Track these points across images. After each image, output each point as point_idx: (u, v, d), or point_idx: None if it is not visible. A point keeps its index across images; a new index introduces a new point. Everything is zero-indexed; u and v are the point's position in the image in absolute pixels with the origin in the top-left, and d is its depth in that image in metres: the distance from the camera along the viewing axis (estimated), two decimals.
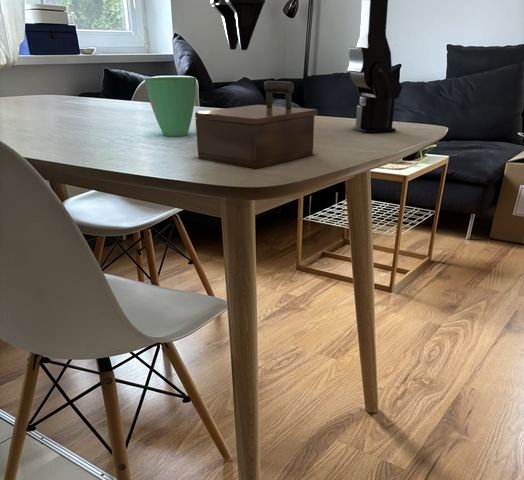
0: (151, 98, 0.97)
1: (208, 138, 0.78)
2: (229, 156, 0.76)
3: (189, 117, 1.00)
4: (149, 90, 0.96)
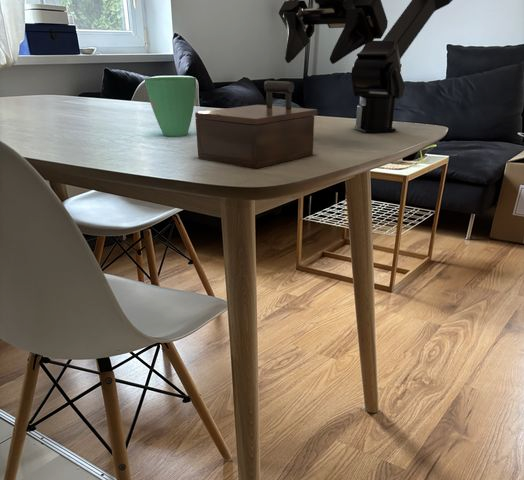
0: (151, 98, 0.97)
1: (208, 138, 0.78)
2: (229, 156, 0.76)
3: (189, 117, 1.00)
4: (149, 90, 0.96)
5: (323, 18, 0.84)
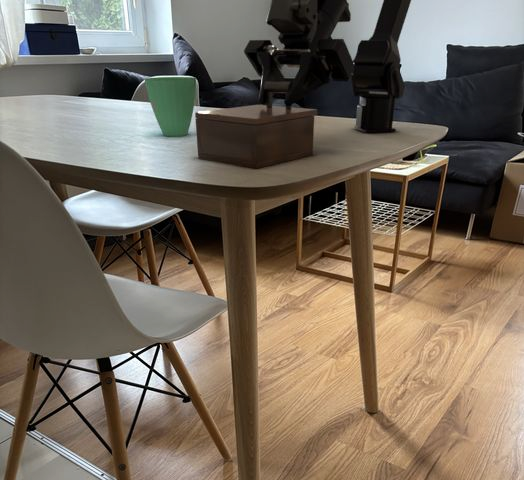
0: (151, 98, 0.97)
1: (208, 138, 0.78)
2: (229, 156, 0.76)
3: (189, 117, 1.00)
4: (149, 90, 0.96)
5: (289, 59, 0.82)
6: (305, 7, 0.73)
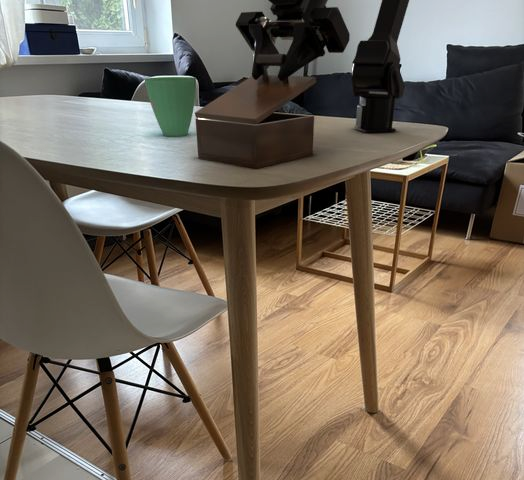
0: (151, 98, 0.97)
1: (208, 138, 0.78)
2: (229, 156, 0.76)
3: (189, 117, 1.00)
4: (149, 90, 0.96)
5: (282, 30, 0.79)
6: None
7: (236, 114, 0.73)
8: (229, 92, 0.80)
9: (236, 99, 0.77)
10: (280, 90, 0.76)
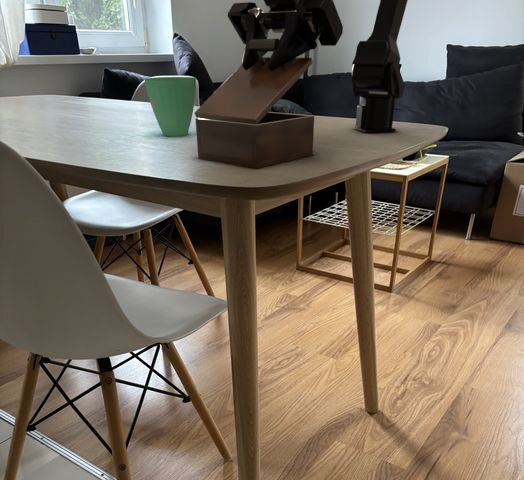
0: (151, 98, 0.97)
1: (208, 138, 0.78)
2: (229, 156, 0.76)
3: (189, 117, 1.00)
4: (149, 90, 0.96)
5: (274, 22, 0.77)
6: None
7: (235, 113, 0.73)
8: (226, 83, 0.79)
9: (234, 93, 0.77)
10: (277, 78, 0.75)
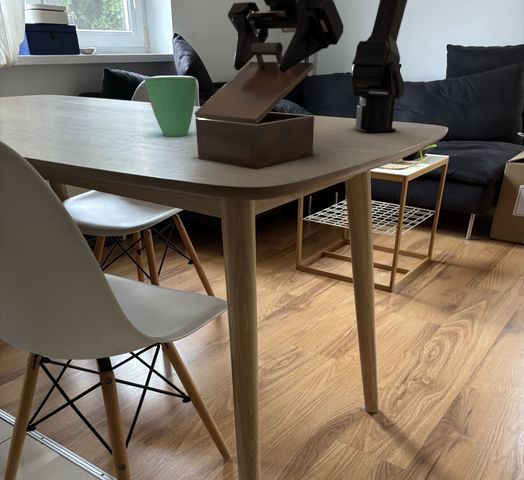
0: (151, 98, 0.97)
1: (208, 138, 0.78)
2: (229, 156, 0.76)
3: (189, 117, 1.00)
4: (149, 90, 0.96)
5: (275, 22, 0.77)
6: None
7: (236, 113, 0.73)
8: (227, 85, 0.80)
9: (234, 94, 0.77)
10: (278, 81, 0.75)
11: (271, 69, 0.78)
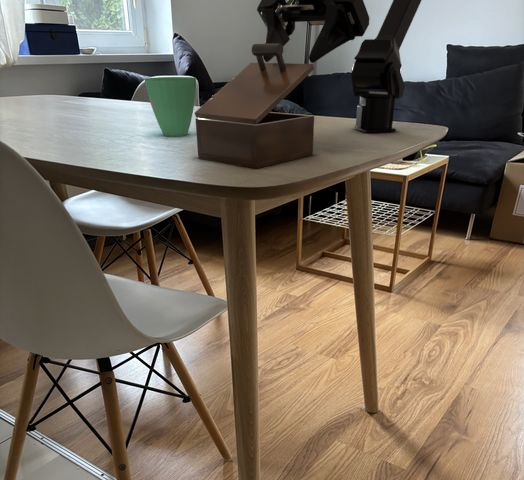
0: (151, 98, 0.97)
1: (208, 138, 0.78)
2: (229, 156, 0.76)
3: (189, 117, 1.00)
4: (149, 90, 0.96)
5: (303, 15, 0.81)
6: None
7: (236, 114, 0.73)
8: (227, 86, 0.80)
9: (234, 95, 0.77)
10: (278, 82, 0.75)
11: (271, 70, 0.78)
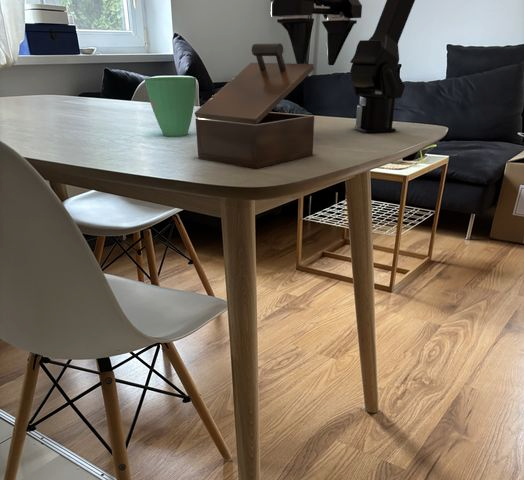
0: (151, 98, 0.97)
1: (208, 138, 0.78)
2: (229, 156, 0.76)
3: (189, 117, 1.00)
4: (149, 90, 0.96)
5: None
6: None
7: (236, 114, 0.73)
8: (227, 86, 0.80)
9: (234, 95, 0.77)
10: (278, 82, 0.75)
11: (271, 70, 0.78)
